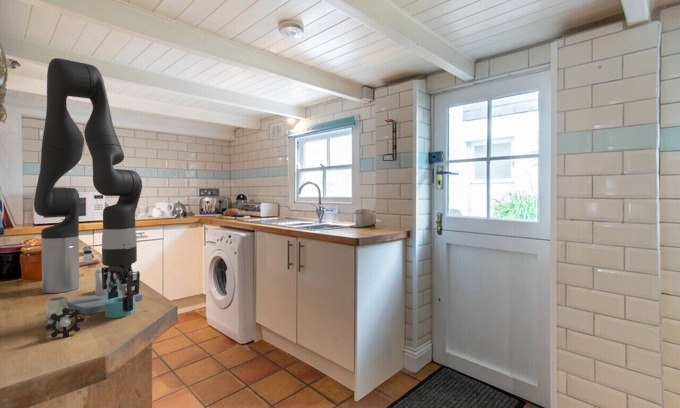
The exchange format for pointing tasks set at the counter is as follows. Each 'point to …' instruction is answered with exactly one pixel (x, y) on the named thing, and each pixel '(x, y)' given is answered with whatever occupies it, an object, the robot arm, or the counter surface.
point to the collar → (117, 308)
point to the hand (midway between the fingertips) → (120, 308)
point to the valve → (61, 317)
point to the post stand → (95, 298)
